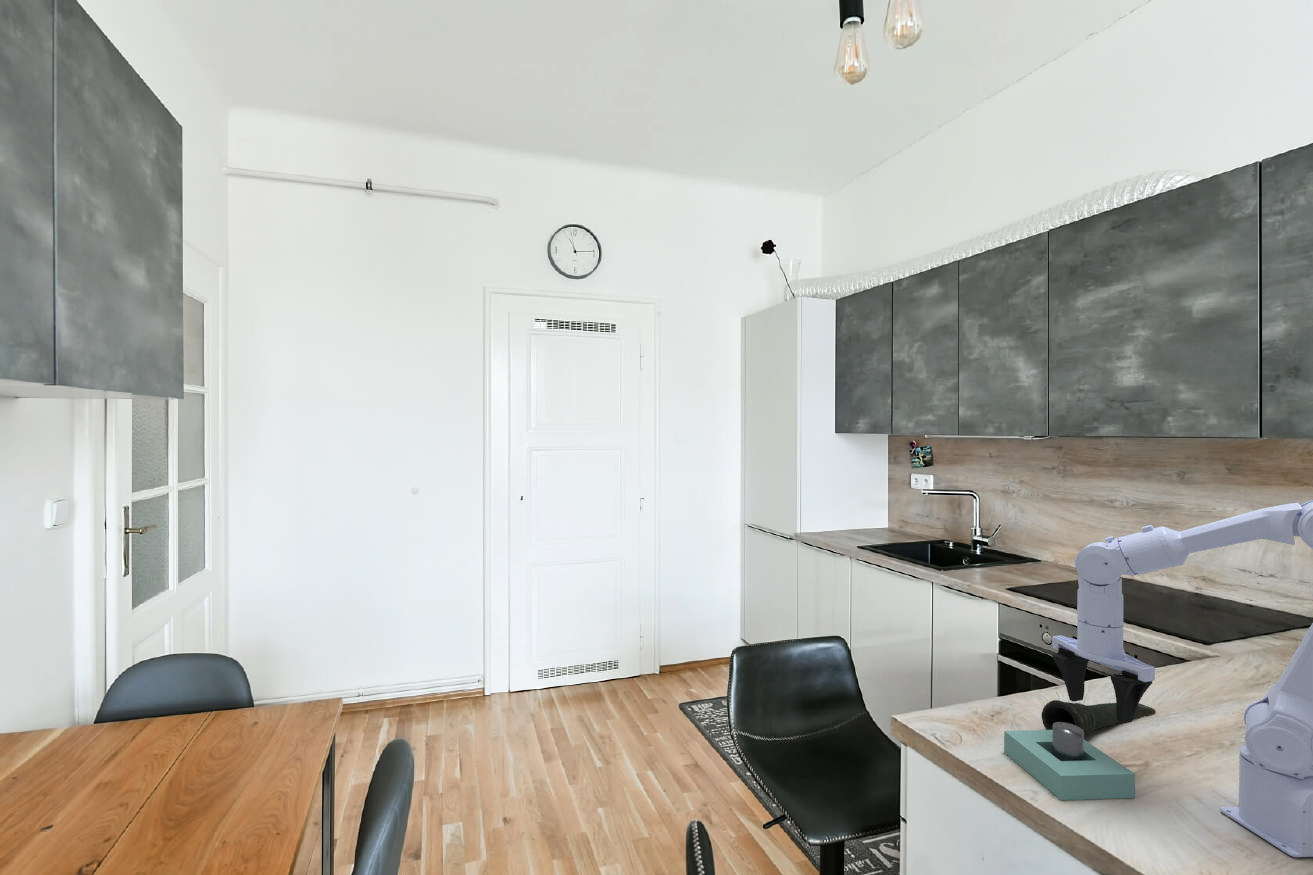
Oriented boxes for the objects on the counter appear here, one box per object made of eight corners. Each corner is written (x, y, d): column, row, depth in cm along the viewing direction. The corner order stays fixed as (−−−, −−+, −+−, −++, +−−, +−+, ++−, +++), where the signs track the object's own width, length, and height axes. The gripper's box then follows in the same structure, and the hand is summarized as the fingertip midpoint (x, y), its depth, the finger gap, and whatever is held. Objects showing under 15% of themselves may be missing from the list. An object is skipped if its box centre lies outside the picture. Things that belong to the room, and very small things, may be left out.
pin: (1088, 777, 93) (1090, 732, 93) (1071, 783, 91) (1072, 736, 91) (1062, 764, 97) (1064, 720, 96) (1045, 769, 95) (1046, 724, 95)
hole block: (1134, 797, 88) (1135, 773, 88) (1060, 800, 87) (1061, 775, 87) (1068, 750, 101) (1068, 729, 101) (1004, 752, 100) (1004, 730, 100)
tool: (1075, 751, 101) (1076, 711, 101) (1038, 732, 107) (1039, 695, 107) (1181, 724, 111) (1182, 688, 111) (1142, 708, 117) (1143, 674, 117)
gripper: (1170, 634, 88) (1169, 728, 88) (1075, 606, 102) (1074, 688, 102) (1134, 639, 86) (1134, 735, 86) (1042, 610, 100) (1042, 693, 100)
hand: (1099, 710), depth 94 cm, fingers open, 7 cm apart
